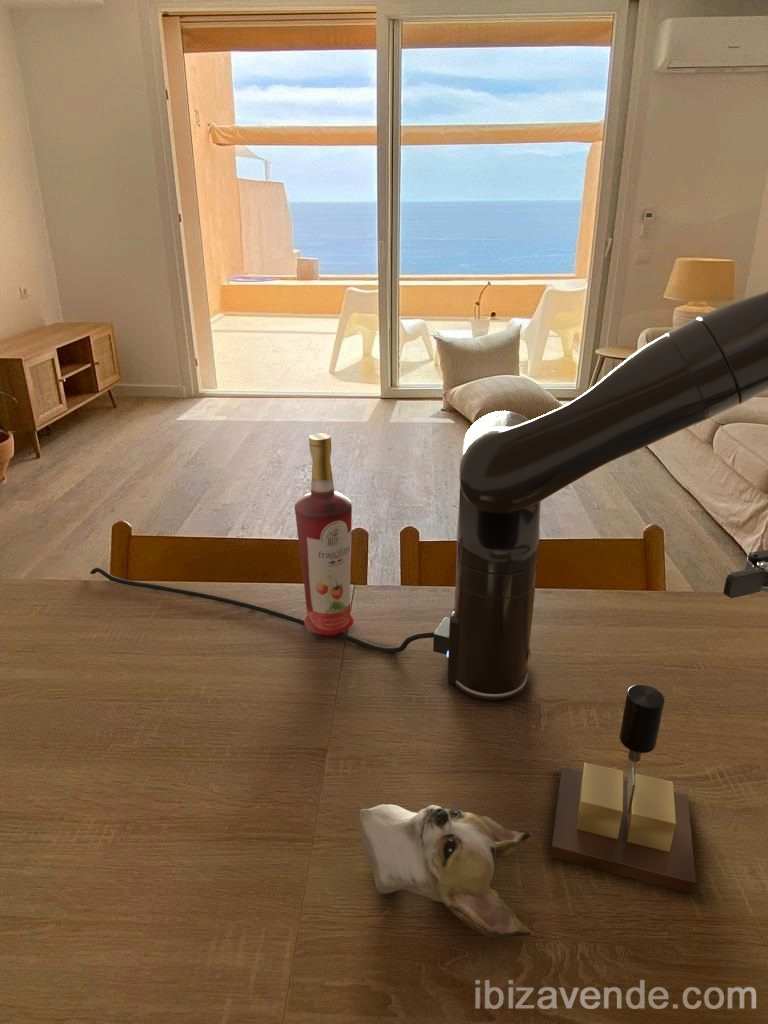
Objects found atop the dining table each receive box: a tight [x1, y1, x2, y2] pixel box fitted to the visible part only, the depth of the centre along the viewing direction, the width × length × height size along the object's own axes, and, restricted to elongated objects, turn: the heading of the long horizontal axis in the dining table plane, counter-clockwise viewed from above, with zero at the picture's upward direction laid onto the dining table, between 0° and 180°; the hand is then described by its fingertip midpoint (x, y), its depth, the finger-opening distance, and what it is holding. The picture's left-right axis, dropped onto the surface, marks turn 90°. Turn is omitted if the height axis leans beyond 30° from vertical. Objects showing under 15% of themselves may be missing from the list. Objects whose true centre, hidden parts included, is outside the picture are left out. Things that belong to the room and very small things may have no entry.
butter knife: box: [619, 684, 665, 815], centre depth 61 cm, size 3×6×10 cm, turn 162°
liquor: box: [294, 432, 355, 638], centre depth 91 cm, size 7×7×28 cm
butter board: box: [550, 762, 697, 895], centre depth 64 cm, size 12×10×5 cm
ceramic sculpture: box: [358, 803, 533, 938], centre depth 59 cm, size 11×9×15 cm
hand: (764, 611), depth 60 cm, fingers open, 8 cm apart
